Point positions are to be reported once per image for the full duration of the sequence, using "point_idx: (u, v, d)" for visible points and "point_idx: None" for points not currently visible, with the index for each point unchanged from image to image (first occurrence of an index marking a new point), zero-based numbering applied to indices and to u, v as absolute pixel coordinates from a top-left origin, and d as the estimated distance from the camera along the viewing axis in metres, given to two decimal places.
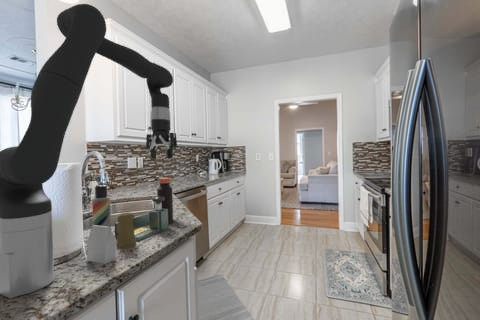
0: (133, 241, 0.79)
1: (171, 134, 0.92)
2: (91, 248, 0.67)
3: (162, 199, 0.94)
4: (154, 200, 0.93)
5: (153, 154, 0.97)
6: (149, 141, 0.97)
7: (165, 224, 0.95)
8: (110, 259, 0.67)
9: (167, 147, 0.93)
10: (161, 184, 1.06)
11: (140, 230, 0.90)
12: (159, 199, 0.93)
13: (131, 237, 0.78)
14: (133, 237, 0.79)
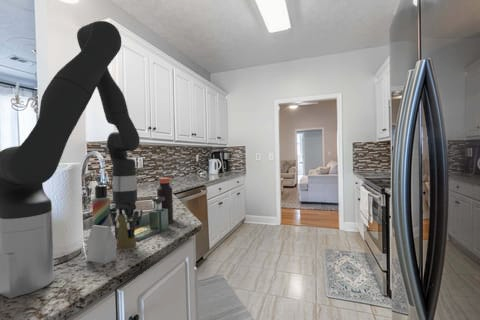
0: (133, 241, 0.79)
1: (135, 214, 0.76)
2: (91, 248, 0.67)
3: (162, 199, 0.94)
4: (154, 200, 0.93)
5: None
6: (114, 216, 0.81)
7: (165, 224, 0.95)
8: (110, 259, 0.67)
9: (127, 226, 0.77)
10: (161, 184, 1.06)
11: (140, 230, 0.90)
12: (159, 199, 0.93)
13: None
14: None
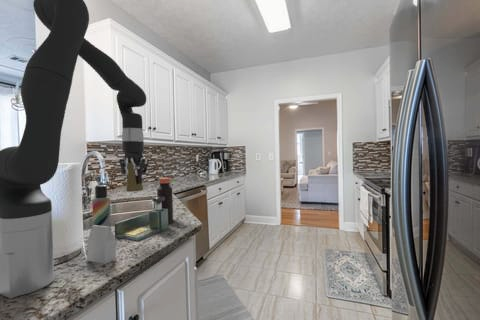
0: (140, 187, 0.89)
1: (143, 161, 0.86)
2: (91, 248, 0.67)
3: (162, 199, 0.94)
4: (154, 200, 0.93)
5: None
6: (124, 165, 0.91)
7: (165, 224, 0.95)
8: (110, 259, 0.67)
9: (135, 173, 0.88)
10: (161, 184, 1.06)
11: (140, 230, 0.90)
12: (159, 199, 0.93)
13: None
14: None
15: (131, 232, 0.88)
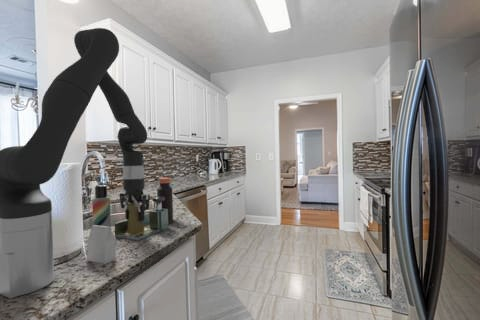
0: (141, 227, 0.89)
1: (144, 197, 0.86)
2: (91, 248, 0.67)
3: (162, 199, 0.94)
4: (154, 200, 0.93)
5: (128, 215, 0.91)
6: (123, 200, 0.92)
7: (165, 224, 0.95)
8: (110, 259, 0.67)
9: (138, 209, 0.88)
10: (161, 184, 1.06)
11: None
12: (159, 199, 0.93)
13: (140, 224, 0.89)
14: (141, 224, 0.89)
15: None
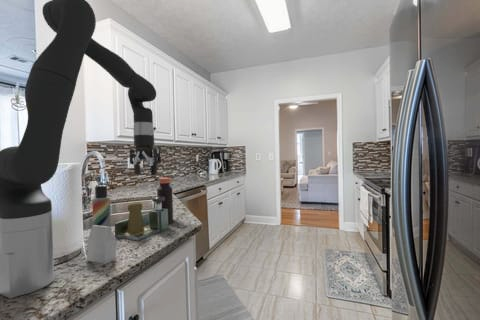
0: (141, 227, 0.89)
1: (154, 150, 0.89)
2: (91, 248, 0.67)
3: (162, 199, 0.94)
4: (154, 200, 0.93)
5: (137, 170, 0.94)
6: (132, 156, 0.94)
7: (165, 224, 0.95)
8: (110, 259, 0.67)
9: (151, 163, 0.90)
10: (161, 184, 1.06)
11: None
12: (159, 199, 0.93)
13: (140, 224, 0.89)
14: (141, 224, 0.89)
15: None
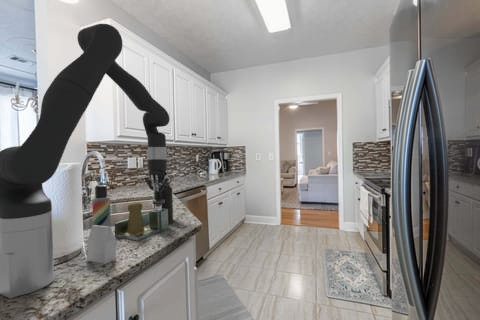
0: (141, 227, 0.89)
1: (166, 180, 0.92)
2: (91, 248, 0.67)
3: (162, 202, 0.94)
4: (154, 203, 0.93)
5: None
6: (150, 182, 0.96)
7: (165, 224, 0.95)
8: (110, 259, 0.67)
9: (157, 189, 0.94)
10: None
11: None
12: (159, 202, 0.93)
13: (140, 224, 0.89)
14: (141, 224, 0.89)
15: None
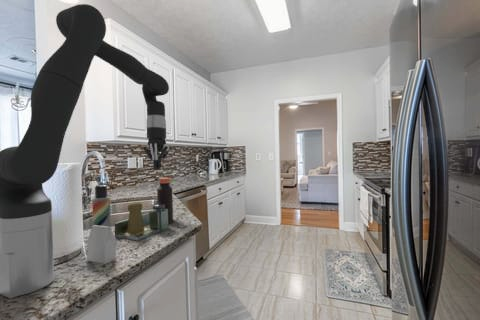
0: (141, 227, 0.89)
1: (165, 148, 0.92)
2: (91, 248, 0.67)
3: (162, 207, 0.94)
4: (154, 208, 0.93)
5: None
6: (149, 152, 0.96)
7: (165, 224, 0.95)
8: (110, 259, 0.67)
9: (156, 157, 0.94)
10: (161, 184, 1.06)
11: None
12: (159, 207, 0.93)
13: (140, 224, 0.89)
14: (141, 224, 0.89)
15: None
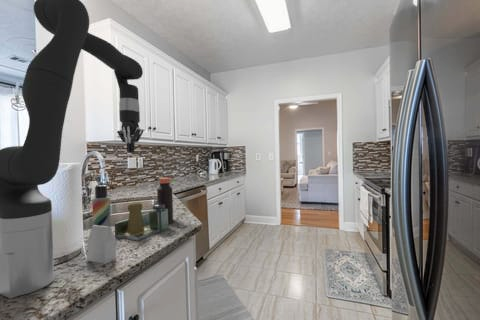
0: (141, 227, 0.89)
1: (137, 131, 0.92)
2: (91, 248, 0.67)
3: (162, 207, 0.94)
4: (154, 208, 0.93)
5: None
6: (122, 135, 0.96)
7: (165, 224, 0.95)
8: (110, 259, 0.67)
9: (129, 141, 0.94)
10: (161, 184, 1.06)
11: None
12: (159, 207, 0.93)
13: (140, 224, 0.89)
14: (141, 224, 0.89)
15: None
